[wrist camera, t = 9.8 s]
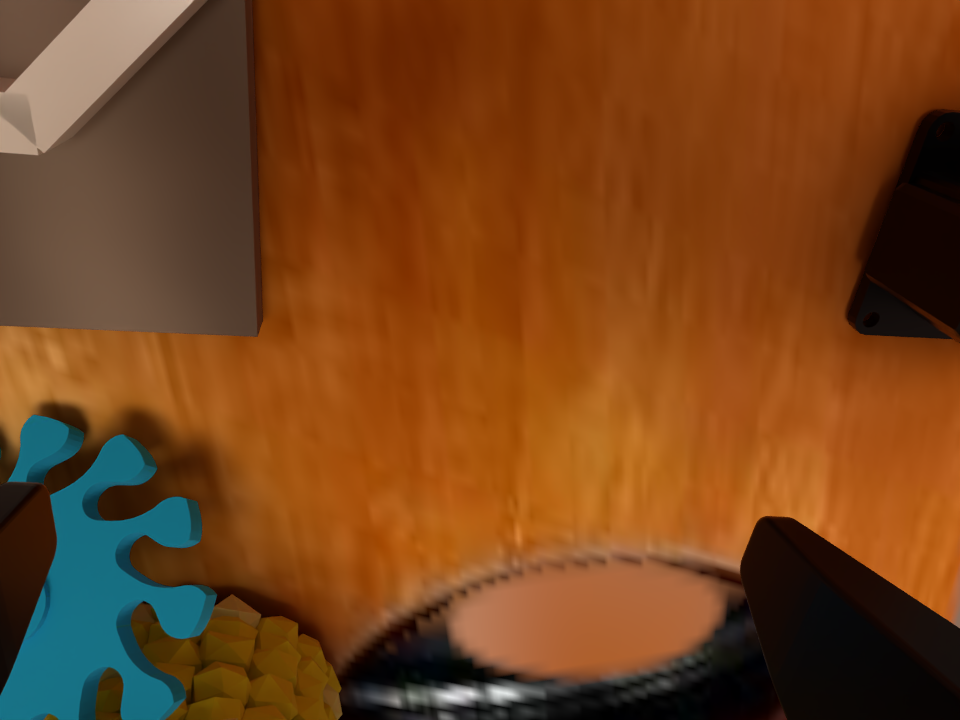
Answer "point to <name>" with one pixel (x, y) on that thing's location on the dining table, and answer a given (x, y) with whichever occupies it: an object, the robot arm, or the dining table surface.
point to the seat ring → (84, 70)
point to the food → (233, 668)
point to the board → (139, 188)
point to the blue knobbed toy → (99, 587)
